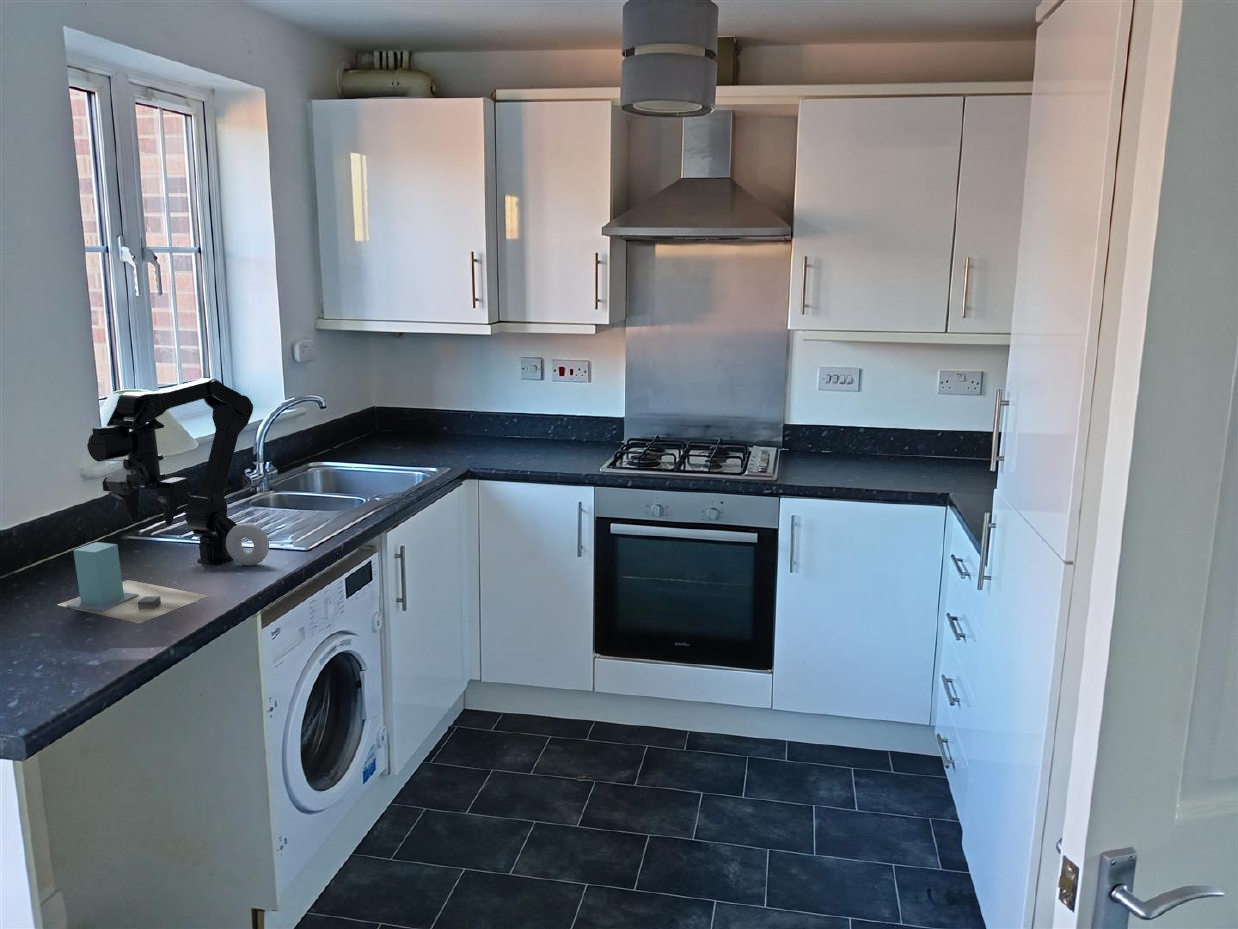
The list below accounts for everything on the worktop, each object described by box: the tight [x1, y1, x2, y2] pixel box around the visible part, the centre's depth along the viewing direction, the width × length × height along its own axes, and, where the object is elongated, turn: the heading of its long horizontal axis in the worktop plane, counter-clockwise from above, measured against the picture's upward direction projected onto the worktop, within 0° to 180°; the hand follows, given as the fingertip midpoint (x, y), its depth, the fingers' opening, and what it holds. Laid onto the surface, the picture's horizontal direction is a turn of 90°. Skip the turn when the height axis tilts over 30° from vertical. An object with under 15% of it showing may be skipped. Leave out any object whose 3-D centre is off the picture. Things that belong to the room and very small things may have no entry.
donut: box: [226, 522, 270, 567], centre depth 213 cm, size 10×4×10 cm, turn 84°
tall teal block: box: [73, 541, 124, 606], centre depth 187 cm, size 5×5×11 cm
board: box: [56, 579, 209, 625], centre depth 189 cm, size 16×24×3 cm, turn 65°
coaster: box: [66, 593, 139, 612], centre depth 188 cm, size 9×9×1 cm
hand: (151, 523), depth 202 cm, fingers open, 9 cm apart
